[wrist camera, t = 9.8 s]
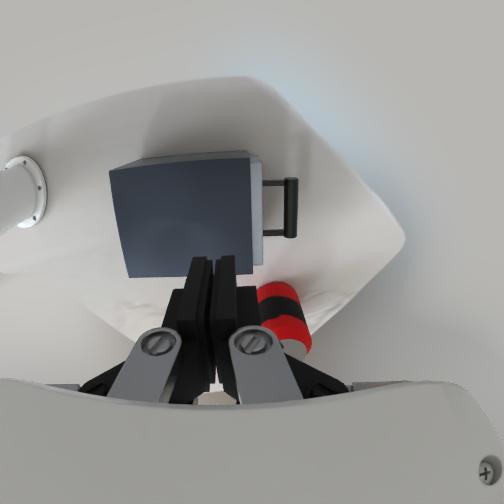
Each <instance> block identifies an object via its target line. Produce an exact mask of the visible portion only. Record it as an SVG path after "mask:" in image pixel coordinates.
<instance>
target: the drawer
mask: <svg viewBox="0 0 504 504" xmlns="http://www.w3.org/2000/svg"><path fill="white" fill-rule="evenodd" d="M249 157H250V177H251V217H252V257H253V265H263V236H284V237H286V238H295V237H296V236H297V216H298V178H294V177H287V178H284V180H262V162H261V161H260V159H259V158H258V156H257V155H255V156H249ZM262 186H284V230H283V229H280V230H263V199H262Z"/></svg>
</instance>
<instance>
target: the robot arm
mask: <svg viewBox="0 0 504 504" xmlns="http://www.w3.org/2000/svg"><path fill="white" fill-rule="evenodd" d="M46 200H47V191H46V184H45V180H44V177H43V174H42V172H41V170H40V168H39V166H38V165H37V164H36V162H35V161H34V160H32V159H31V158H29V157H27V156H18V157H15V158H12V159H11V160H10V161H9V162H8V163H7V164H6V165H5V167H4V169H3V171H0V236H2V235H3V234H5V233H6V232H8V231H9V230H11V229H12V228H14V227H15V226H18V227H21V228H29V227H32V226H33V225H35V224H36V223H37V222H38V221H39V220H40V219H41V217H42V216H43V213H44V211H45V207H46ZM216 367H217V373H218V379H219V383H223V389H224V392H226V393H227V394H228V395H230V396H231V397H233V398H234V399H235V404H236V405H198V398H197V397H198V396H199V395H201V394H202V393H203V392H209V390H210V384H215V375H216ZM0 504H504V444H503V442H502V440H501V438H500V436H499V434H498V432H497V431H496V429H495V427H494V425H493V424H492V422H491V420H490V419H489V417H488V416H487V414H486V412H485V411H484V410H483V408H482V407H481V406H480V404H479V403H478V402H477V400H476V399H475V398H474V397H473V396H472V395H471V394H470V393H469V392H468V391H467V390H466V389H464V388H463V387H461V386H459V385H457V384H454V383H450V382H443V381H389V382H353V383H352V386H347V385H344V383H342V382H340V381H339V380H337V379H335V378H333V377H331V376H329V375H327V374H325V373H323V372H321V371H319V370H317V369H315V368H313V367H311V366H309V365H307V364H305V363H303V362H301V361H299V360H297V359H296V358H294V357H292V356H290V355H288V354H286V353H284V352H283V350H282V347H281V345H280V343H279V340H278V338H277V336H276V335H275V333H274V332H273V331H271V330H270V329H268V328H265V327H263V326H261V320H260V313H259V306H258V298H257V291H256V286H242V287H237V284H236V267H235V255H226V256H221V259H216V263H215V272H213V262H212V260H207V256H203V257H193V258H192V261H191V265H190V268H189V272H188V275H187V279H186V282H185V286H184V289H174V290H173V292H172V295H171V298H170V301H169V304H168V307H167V310H166V314H165V317H164V320H163V323H162V327H159V328H154V329H151V330H149V331H146V332H145V333H143V334H142V335H141V336H140V337H139V339H138V340H137V342H136V343H135V345H134V347H133V349H132V350H131V352H130V354H129V356H128V358H127V359H126V361H124V362H122V363H120V364H119V365H117V366H115V367H113V368H112V369H110V370H108V371H106V372H104V373H102V374H100V375H99V376H97V377H95V378H93V379H91V380H89V381H88V382H86V383H85V384H84V385H83V386H82V387H80V385H79V384H53V385H49V384H48V385H47V384H40V383H35V382H31V381H27V380H21V379H13V378H0Z"/></svg>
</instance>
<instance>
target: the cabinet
mask: <svg viewBox="0 0 504 504" xmlns="http://www.w3.org/2000/svg"><path fill="white" fill-rule="evenodd" d="M109 176H110V184H111V191H112V198H113V204H114V210H115V216H116V221H117V226H118V232H119V237H120V241H121V246H122V251H123V255H124V259H125V264H126V268H127V272H128V276H129V278H142V277H185V276H187V275H188V272H189V268H190V265H191V261H192V258H193V257H203V256H207V260H212V262H213V272H215V263H216V259H221V256H226V255H235V267H236V275H242V274H253V257H252V217H251V177H250V157H249V155H248V152H247V151H225V152H208V153H195V154H183V155H173V156H164V157H156V158H148V159H140V160H137V161H134V162H131V163H129V164H126V165H123V166H121V167H118V168H115V169H113V170H110V171H109Z"/></svg>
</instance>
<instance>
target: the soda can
mask: <svg viewBox="0 0 504 504" xmlns="http://www.w3.org/2000/svg"><path fill="white" fill-rule="evenodd" d="M257 298H258V306H259V313H260V320H261V326H263V327H265V328H268V329H270V330H271V331H273V332H274V333H275V335H276V336H277V338H278V340H279V343H280V345H281V347H282V350H283V352H284V353H286V354H288V355H290V356H292V357H294V358H296V359H297V360H299V361H301V362H302V361H303V359H304V358H305V356H306V355H307V353H308V352H309V351H310V349H311V345H312V340H311V336H310V333H309V330H308V327H307V324H306V320H305V317H304V314H303V311H302V308H301V305H300V302H299V299H298V296H297V293H296V292H295V290H294V289H293V288H292V287H290V286H289V285H287V284H284V283H270V284H266V285H264V286H262V287H260V288H259V289H258V290H257Z"/></svg>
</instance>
